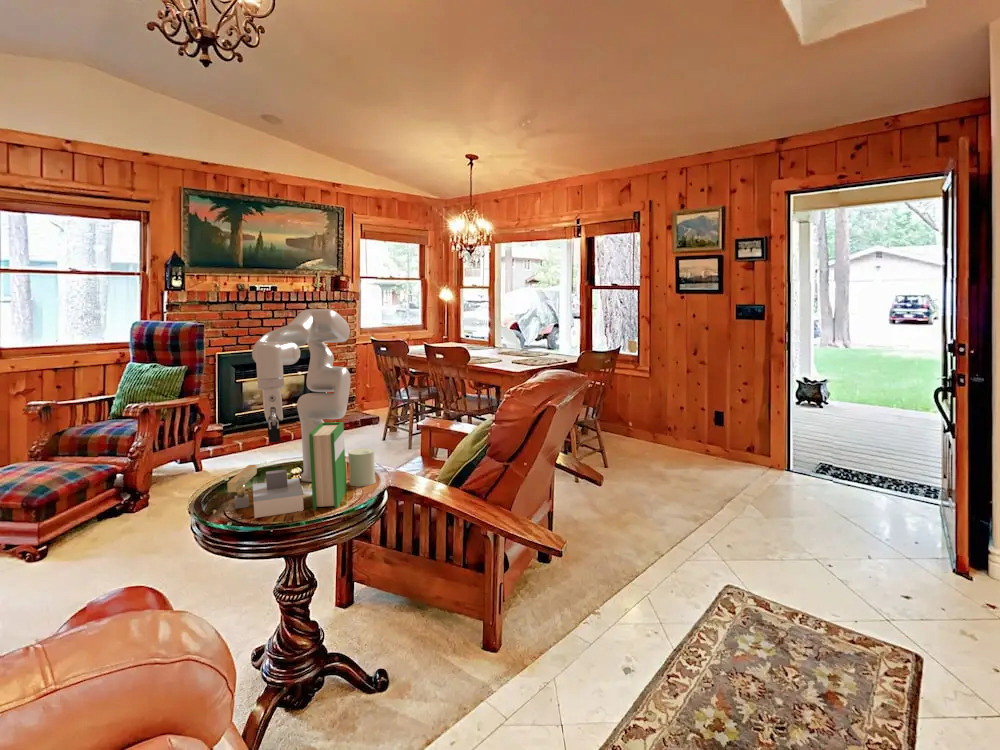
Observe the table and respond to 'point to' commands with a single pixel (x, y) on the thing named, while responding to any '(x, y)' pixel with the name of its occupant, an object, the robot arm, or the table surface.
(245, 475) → the tan wooden plank
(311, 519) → the table surface
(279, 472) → the snap lid
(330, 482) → the hardback book
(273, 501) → the box
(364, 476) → the can
